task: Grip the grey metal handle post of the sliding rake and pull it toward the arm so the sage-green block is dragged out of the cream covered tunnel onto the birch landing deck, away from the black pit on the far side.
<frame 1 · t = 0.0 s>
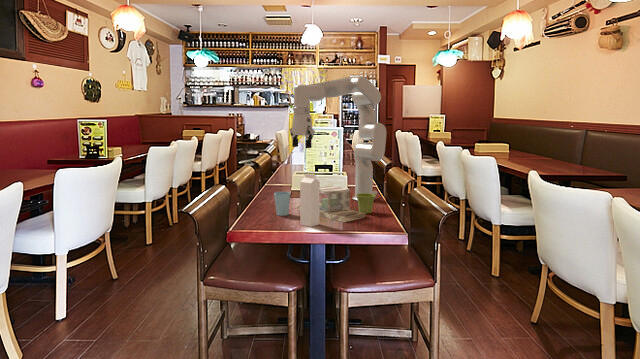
hand: (301, 147, 224), 31 cm above the table, tool pointing down, fingers open, 9 cm apart
tunnel: (330, 213, 222), on the table
milk: (309, 225, 202), on the table
block: (328, 209, 223), point 2 cm above the table, touching tunnel
slider: (319, 198, 227), point 6 cm above the table, slide at 0.0 cm
plant pot: (365, 212, 226), on the table
cup: (282, 215, 220), on the table
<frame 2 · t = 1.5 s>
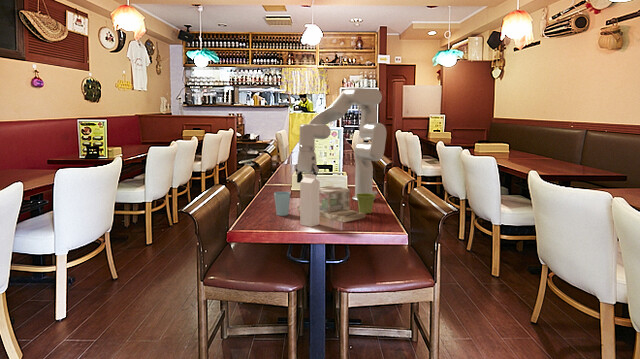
hand: (306, 183, 232), 13 cm above the table, tool pointing down, fingers open, 9 cm apart
nothing on the table moved.
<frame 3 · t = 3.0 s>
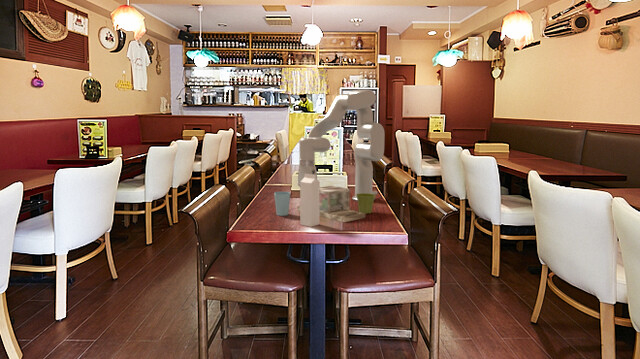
hand: (307, 199, 234), 5 cm above the table, tool pointing down, fingers closed on slider, 3 cm apart
slider: (319, 198, 227), point 6 cm above the table, slide at 0.0 cm, touching gripper
everything else where it was.
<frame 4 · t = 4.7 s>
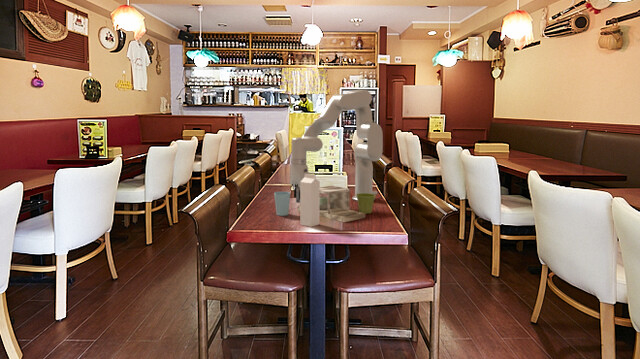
hand: (299, 197, 238), 5 cm above the table, tool pointing down, fingers closed on slider, 3 cm apart
block: (321, 207, 226), point 2 cm above the table
slider: (311, 197, 231), point 6 cm above the table, slide at 6.2 cm, touching gripper
everything else where it was.
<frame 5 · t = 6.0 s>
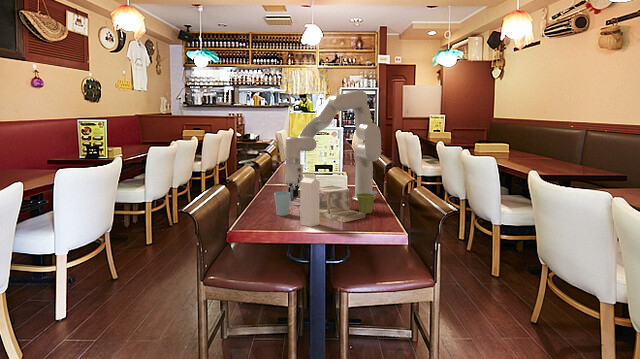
hand: (293, 196, 242), 5 cm above the table, tool pointing down, fingers closed on slider, 3 cm apart
block: (315, 206, 230), point 2 cm above the table, touching slider, tunnel
slider: (305, 195, 234), point 6 cm above the table, slide at 10.9 cm, touching block, gripper
everything else where it was.
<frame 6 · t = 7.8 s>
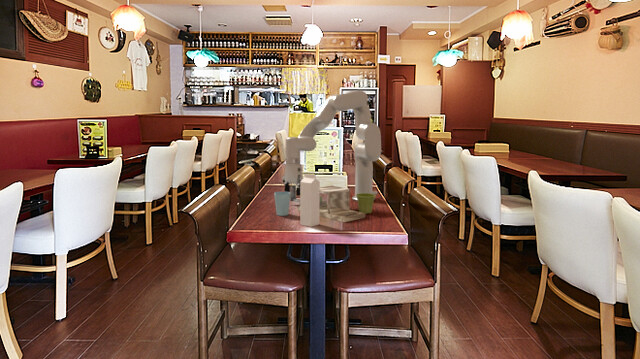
hand: (293, 193, 242), 6 cm above the table, tool pointing down, fingers open, 9 cm apart
slider: (305, 195, 235), point 6 cm above the table, slide at 10.9 cm, touching block
everything else where it was.
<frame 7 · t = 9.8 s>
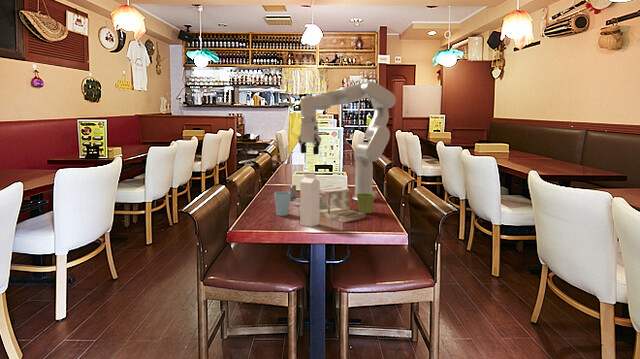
hand: (309, 153, 241), 27 cm above the table, tool pointing down, fingers open, 9 cm apart
nothing on the table moved.
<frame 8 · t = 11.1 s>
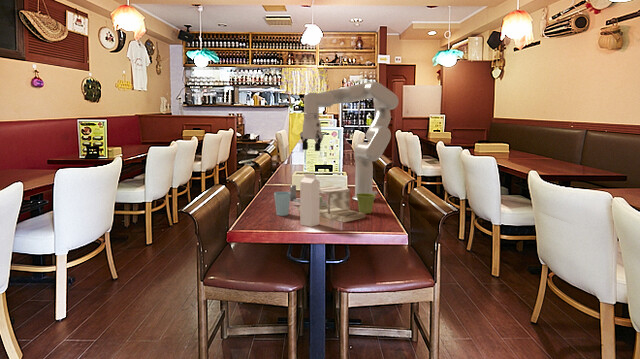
hand: (311, 150, 241), 28 cm above the table, tool pointing down, fingers open, 9 cm apart
nothing on the table moved.
at the end: block 0.1 cm from the target spot, point 2.0 cm above the table; block tilted 0°; slider slide at 10.9 cm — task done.
